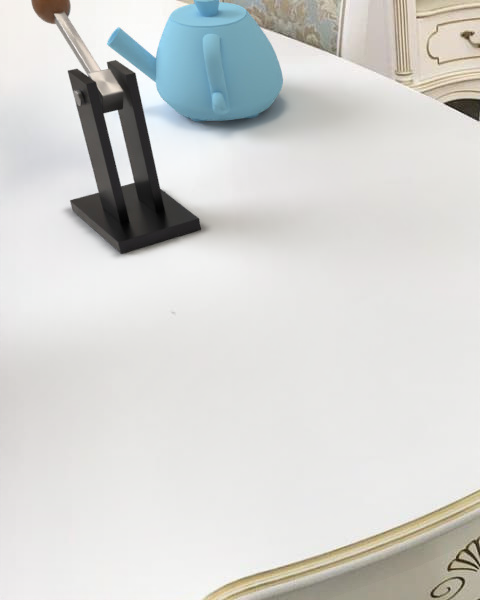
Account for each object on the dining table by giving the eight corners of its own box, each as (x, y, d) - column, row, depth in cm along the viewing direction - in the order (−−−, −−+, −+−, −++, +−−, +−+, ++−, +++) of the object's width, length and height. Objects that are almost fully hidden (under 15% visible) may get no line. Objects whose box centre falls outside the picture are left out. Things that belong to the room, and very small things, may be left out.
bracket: (72, 211, 118) (31, 63, 108) (150, 189, 122) (118, 44, 112) (121, 253, 112) (82, 101, 101) (201, 229, 116) (172, 80, 105)
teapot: (291, 134, 133) (277, 19, 124) (120, 145, 130) (92, 28, 121) (281, 75, 147) (267, -33, 138) (125, 84, 144) (101, -25, 135)
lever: (25, 7, 110) (23, -24, 107) (60, 0, 112) (59, -30, 108) (95, 120, 109) (95, 92, 105) (130, 112, 110) (130, 84, 107)
